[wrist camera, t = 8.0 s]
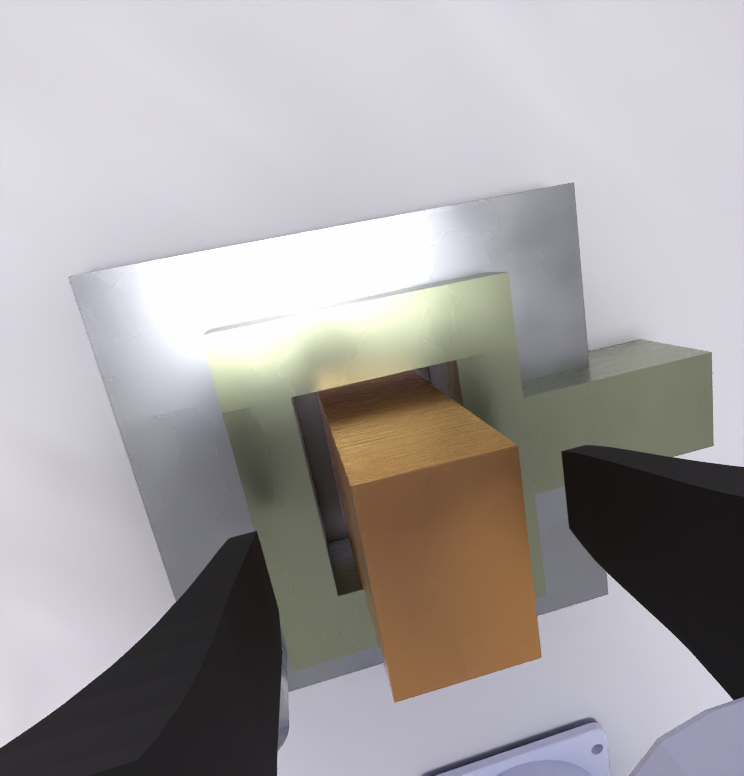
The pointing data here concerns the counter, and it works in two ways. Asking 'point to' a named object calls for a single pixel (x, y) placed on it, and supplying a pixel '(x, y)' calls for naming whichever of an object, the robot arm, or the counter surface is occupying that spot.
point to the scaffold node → (364, 362)
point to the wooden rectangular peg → (433, 531)
